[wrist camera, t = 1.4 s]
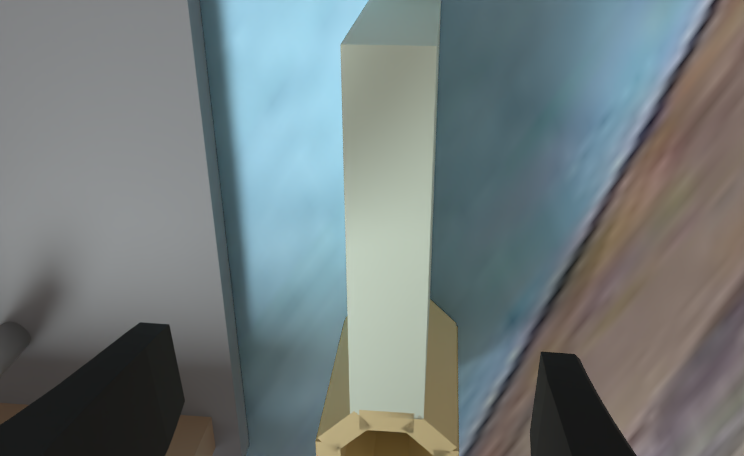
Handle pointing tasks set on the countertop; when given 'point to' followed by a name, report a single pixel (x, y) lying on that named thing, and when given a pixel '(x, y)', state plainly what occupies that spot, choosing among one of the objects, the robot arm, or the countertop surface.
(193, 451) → the cabinet base
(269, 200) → the countertop surface
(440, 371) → the door
